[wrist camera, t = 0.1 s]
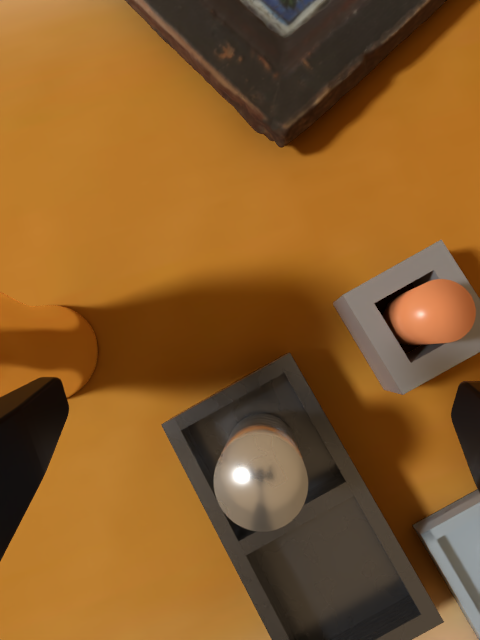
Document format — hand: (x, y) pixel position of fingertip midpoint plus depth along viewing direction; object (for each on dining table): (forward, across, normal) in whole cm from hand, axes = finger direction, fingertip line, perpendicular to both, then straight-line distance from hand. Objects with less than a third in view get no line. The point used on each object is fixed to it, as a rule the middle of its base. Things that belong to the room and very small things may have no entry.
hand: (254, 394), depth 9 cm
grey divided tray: (+9, -2, +14) cm, 17 cm away
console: (+14, -9, +5) cm, 17 cm away
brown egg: (+13, -8, +5) cm, 16 cm away
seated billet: (+10, 0, +11) cm, 15 cm away
